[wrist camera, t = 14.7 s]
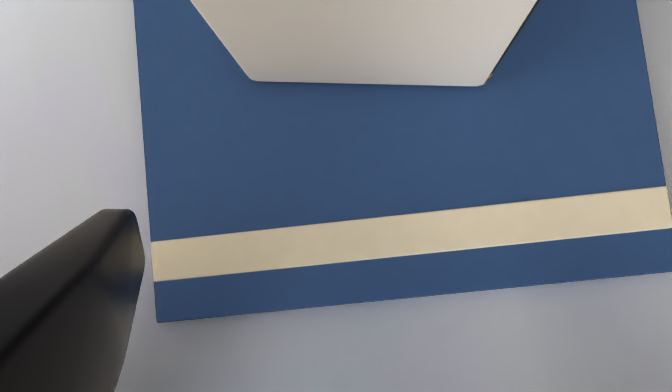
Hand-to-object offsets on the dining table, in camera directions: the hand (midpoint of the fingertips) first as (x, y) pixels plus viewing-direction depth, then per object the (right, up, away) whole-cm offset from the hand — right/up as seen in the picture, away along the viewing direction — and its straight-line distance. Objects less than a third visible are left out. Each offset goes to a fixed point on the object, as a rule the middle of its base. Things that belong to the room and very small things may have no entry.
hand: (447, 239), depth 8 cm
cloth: (0, +8, +9) cm, 12 cm away
